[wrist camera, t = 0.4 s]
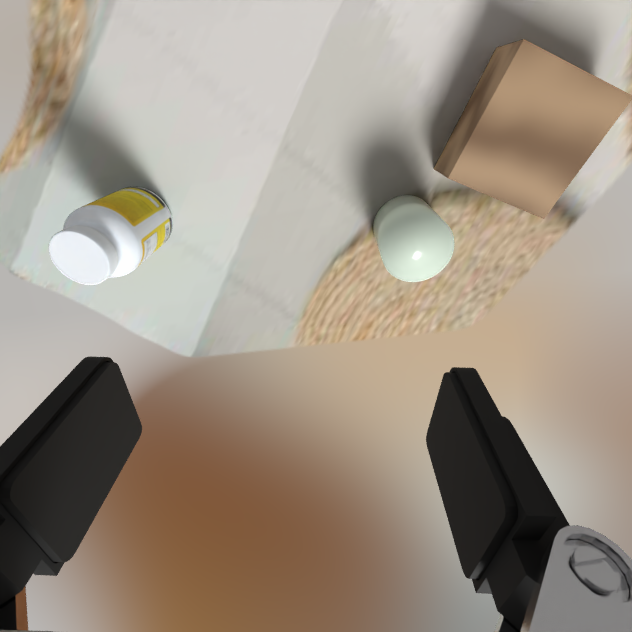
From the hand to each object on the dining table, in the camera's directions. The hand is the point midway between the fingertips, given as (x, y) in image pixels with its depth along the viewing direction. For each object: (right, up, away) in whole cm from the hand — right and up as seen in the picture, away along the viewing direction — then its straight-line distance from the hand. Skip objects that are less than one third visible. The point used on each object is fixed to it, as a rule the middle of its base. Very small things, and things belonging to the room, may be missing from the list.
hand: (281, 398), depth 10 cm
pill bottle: (-17, +13, +27) cm, 35 cm away
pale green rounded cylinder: (+10, +12, +26) cm, 31 cm away
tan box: (+19, +19, +22) cm, 35 cm away
